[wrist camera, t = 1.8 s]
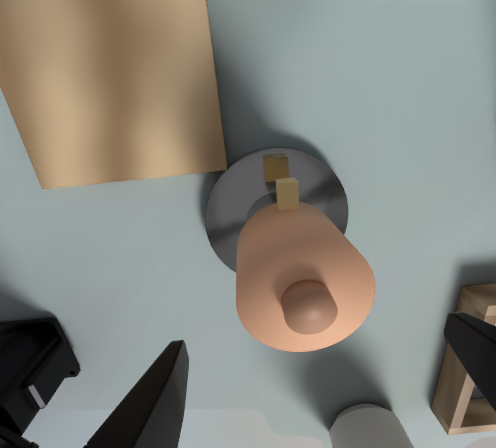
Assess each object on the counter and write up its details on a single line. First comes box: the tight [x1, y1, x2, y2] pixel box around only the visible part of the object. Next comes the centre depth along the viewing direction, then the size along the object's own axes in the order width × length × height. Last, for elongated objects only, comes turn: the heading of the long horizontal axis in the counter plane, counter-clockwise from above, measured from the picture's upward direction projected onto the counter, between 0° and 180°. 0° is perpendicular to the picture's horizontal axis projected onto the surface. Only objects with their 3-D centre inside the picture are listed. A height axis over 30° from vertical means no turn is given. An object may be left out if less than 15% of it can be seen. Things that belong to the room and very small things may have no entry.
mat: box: [0, 0, 228, 189], centre depth 15 cm, size 12×12×1 cm
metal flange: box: [205, 147, 348, 272], centre depth 17 cm, size 10×10×5 cm
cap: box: [236, 178, 376, 352], centre depth 12 cm, size 6×8×5 cm
